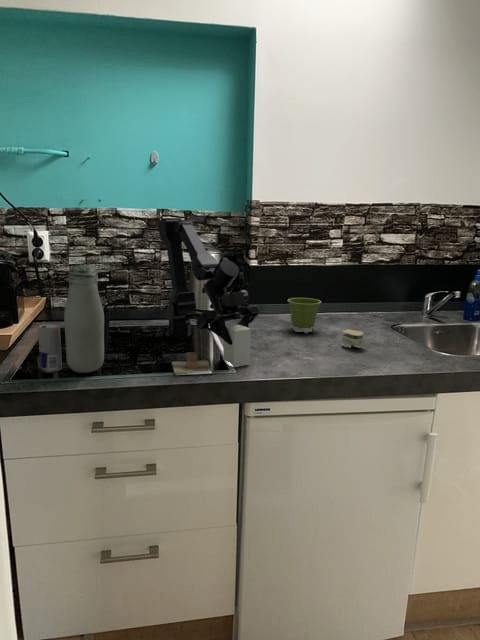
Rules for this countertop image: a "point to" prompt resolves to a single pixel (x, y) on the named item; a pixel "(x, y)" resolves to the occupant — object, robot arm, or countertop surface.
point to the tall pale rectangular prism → (238, 345)
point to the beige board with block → (190, 365)
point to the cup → (106, 328)
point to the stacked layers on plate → (352, 336)
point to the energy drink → (50, 348)
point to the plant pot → (303, 311)
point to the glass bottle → (84, 321)
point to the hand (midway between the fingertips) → (239, 342)
